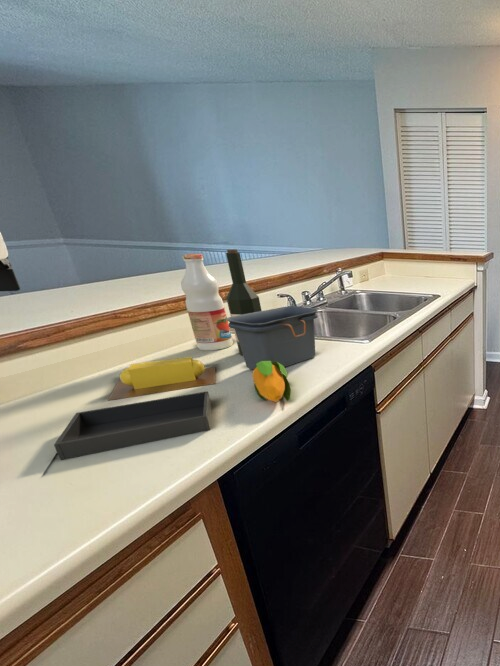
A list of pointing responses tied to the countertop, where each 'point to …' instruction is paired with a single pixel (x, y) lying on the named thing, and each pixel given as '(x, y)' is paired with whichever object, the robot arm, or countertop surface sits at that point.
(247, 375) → the countertop surface
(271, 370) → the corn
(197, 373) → the yellow rounded-end bar
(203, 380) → the board
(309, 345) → the storage bin
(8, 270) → the robot arm
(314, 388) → the countertop surface
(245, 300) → the wine bottle
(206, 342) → the fruit juice
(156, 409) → the tray
